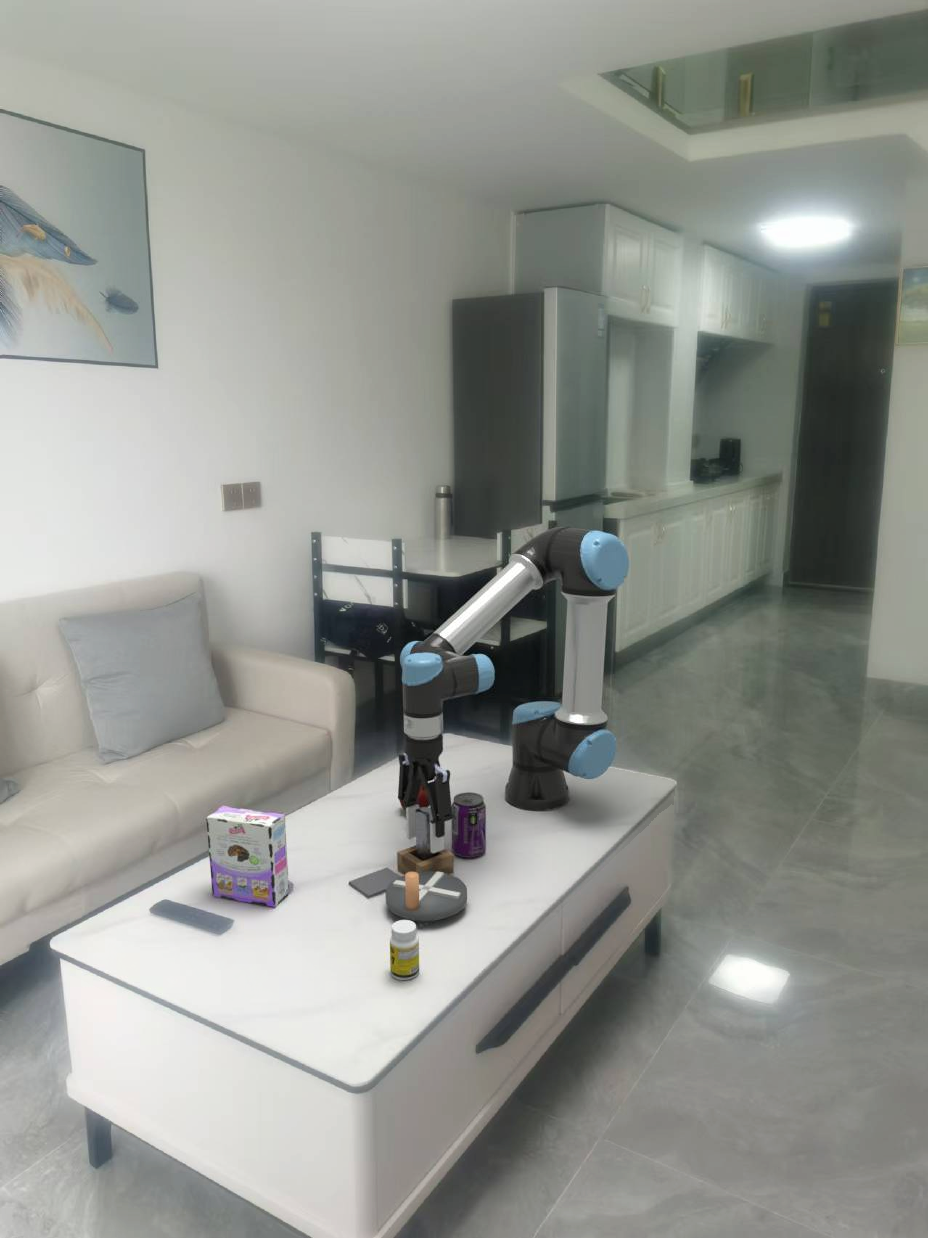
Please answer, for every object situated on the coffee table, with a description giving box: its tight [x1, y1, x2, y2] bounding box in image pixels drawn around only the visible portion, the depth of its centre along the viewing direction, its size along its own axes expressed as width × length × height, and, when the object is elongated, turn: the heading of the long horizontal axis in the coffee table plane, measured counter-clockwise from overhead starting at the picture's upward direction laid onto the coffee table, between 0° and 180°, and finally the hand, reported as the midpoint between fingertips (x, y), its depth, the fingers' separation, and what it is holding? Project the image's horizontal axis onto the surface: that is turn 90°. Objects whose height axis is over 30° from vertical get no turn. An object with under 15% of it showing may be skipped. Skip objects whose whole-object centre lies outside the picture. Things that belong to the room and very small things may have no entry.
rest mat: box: [348, 867, 401, 899], centre depth 179 cm, size 9×7×1 cm
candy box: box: [205, 805, 290, 908], centre depth 174 cm, size 14×6×16 cm, turn 71°
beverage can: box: [451, 791, 487, 859], centre depth 191 cm, size 7×7×12 cm
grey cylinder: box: [415, 807, 434, 861], centre depth 183 cm, size 4×4×13 cm
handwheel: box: [385, 871, 468, 921], centre depth 170 cm, size 15×15×8 cm
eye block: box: [396, 844, 455, 875], centre depth 184 cm, size 8×8×4 cm
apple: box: [398, 783, 430, 811], centre depth 211 cm, size 7×8×8 cm
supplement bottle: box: [389, 919, 420, 981], centre depth 150 cm, size 5×5×8 cm
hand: (425, 843), depth 183 cm, fingers open, 7 cm apart
